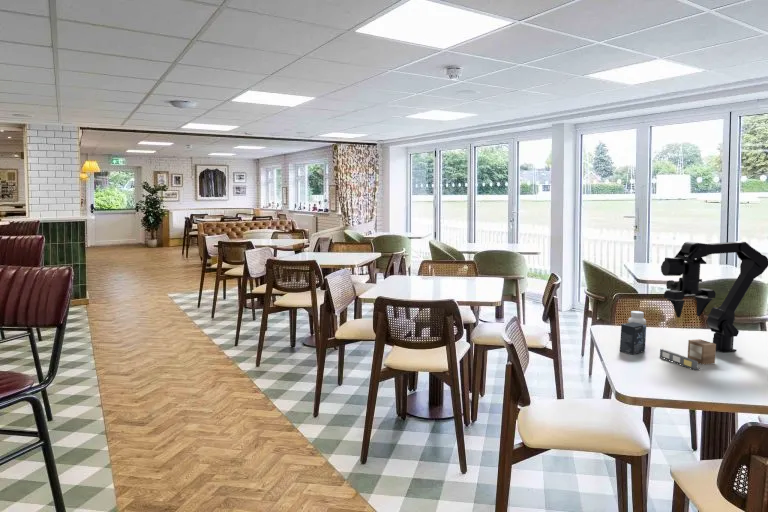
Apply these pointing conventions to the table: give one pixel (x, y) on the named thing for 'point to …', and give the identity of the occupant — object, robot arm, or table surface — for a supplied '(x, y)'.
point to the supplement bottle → (637, 317)
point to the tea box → (701, 351)
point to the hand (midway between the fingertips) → (688, 316)
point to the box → (633, 338)
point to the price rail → (679, 359)
